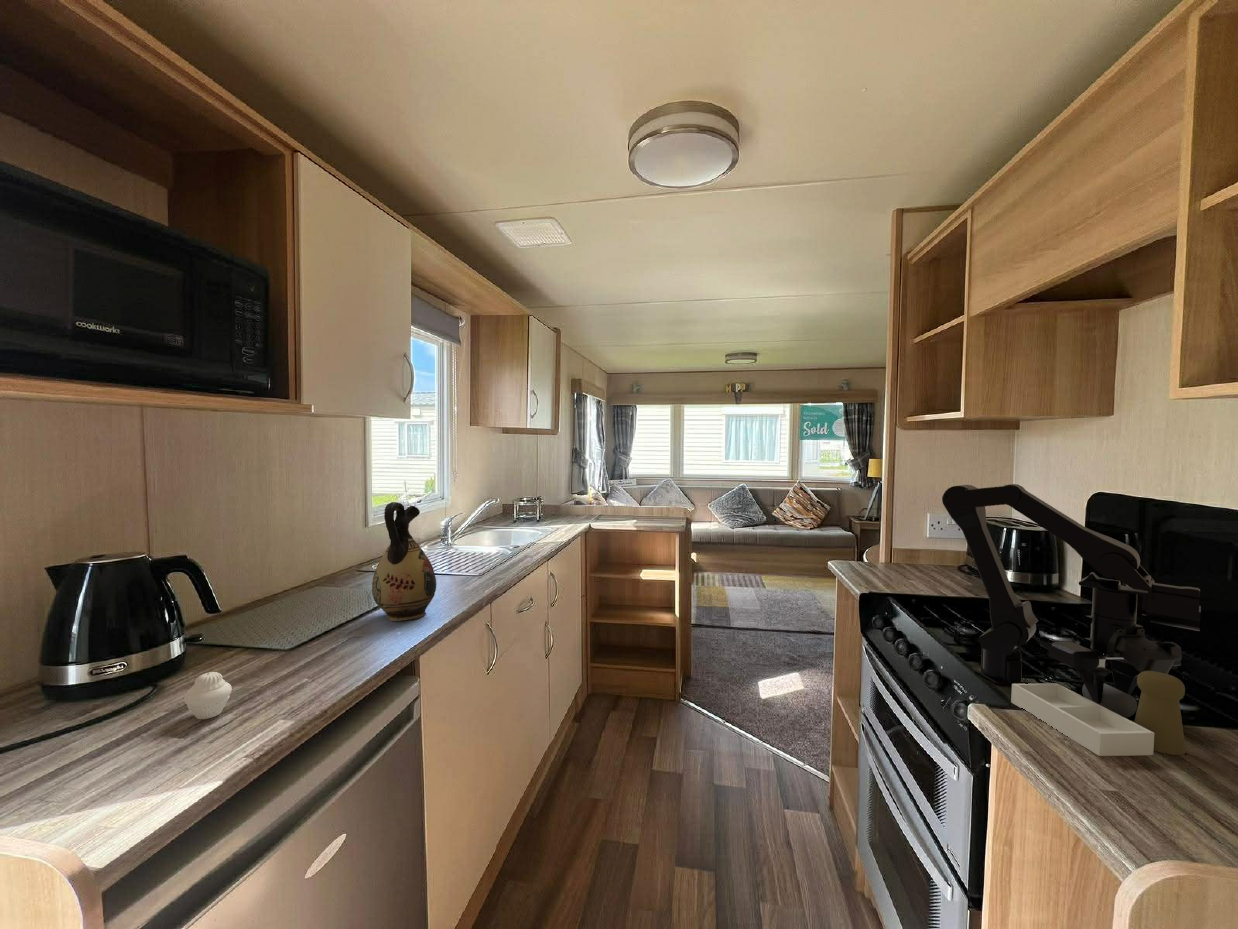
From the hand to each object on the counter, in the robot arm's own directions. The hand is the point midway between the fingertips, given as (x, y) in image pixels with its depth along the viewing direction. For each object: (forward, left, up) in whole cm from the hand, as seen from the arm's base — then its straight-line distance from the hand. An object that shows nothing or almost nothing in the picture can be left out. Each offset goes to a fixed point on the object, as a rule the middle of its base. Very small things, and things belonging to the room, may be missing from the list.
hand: (1109, 702), depth 93 cm
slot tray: (+6, -12, -1) cm, 13 cm away
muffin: (-1, -154, -1) cm, 154 cm away
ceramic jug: (-50, -140, -1) cm, 149 cm away
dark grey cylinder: (0, 0, +1) cm, 1 cm away
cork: (+11, -3, -1) cm, 12 cm away
